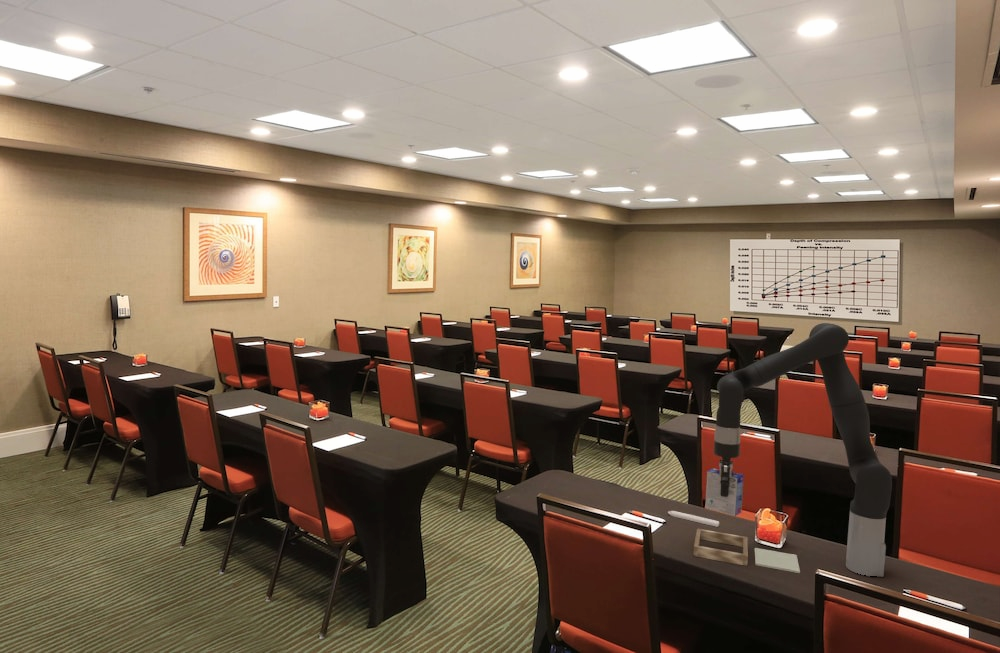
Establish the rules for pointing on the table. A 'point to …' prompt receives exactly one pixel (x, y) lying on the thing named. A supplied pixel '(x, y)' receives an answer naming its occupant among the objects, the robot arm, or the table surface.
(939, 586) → the table surface
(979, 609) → the table surface
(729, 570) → the table surface
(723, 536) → the maple sleeve
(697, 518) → the marker
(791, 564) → the sage pad
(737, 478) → the ink cartridge box
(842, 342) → the robot arm
